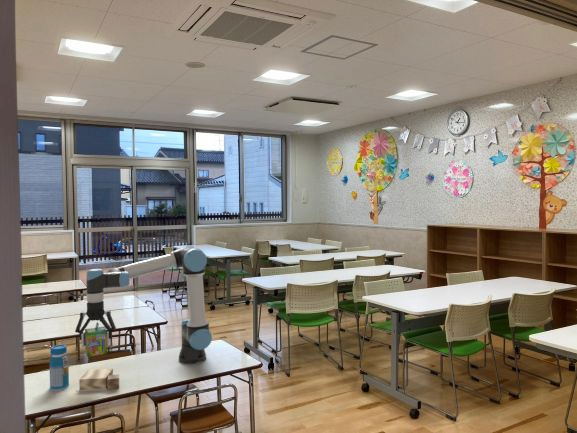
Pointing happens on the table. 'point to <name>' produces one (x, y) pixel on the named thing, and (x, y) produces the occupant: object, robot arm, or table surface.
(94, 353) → the green juice carton
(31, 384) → the table surface
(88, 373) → the base block
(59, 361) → the beverage bottle
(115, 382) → the walnut cube
